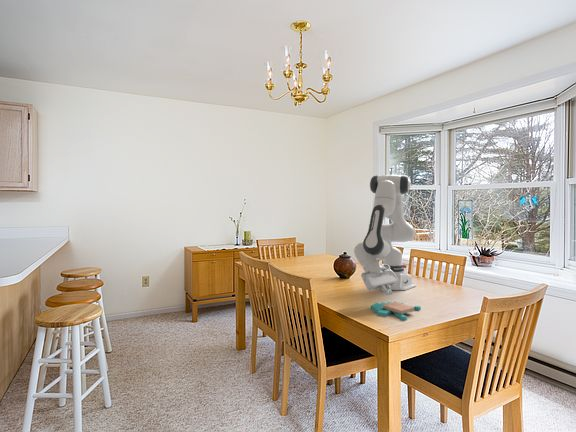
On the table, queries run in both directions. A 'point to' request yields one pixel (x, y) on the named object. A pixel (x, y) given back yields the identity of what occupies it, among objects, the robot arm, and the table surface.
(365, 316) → the table surface
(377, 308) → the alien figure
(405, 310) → the tile
